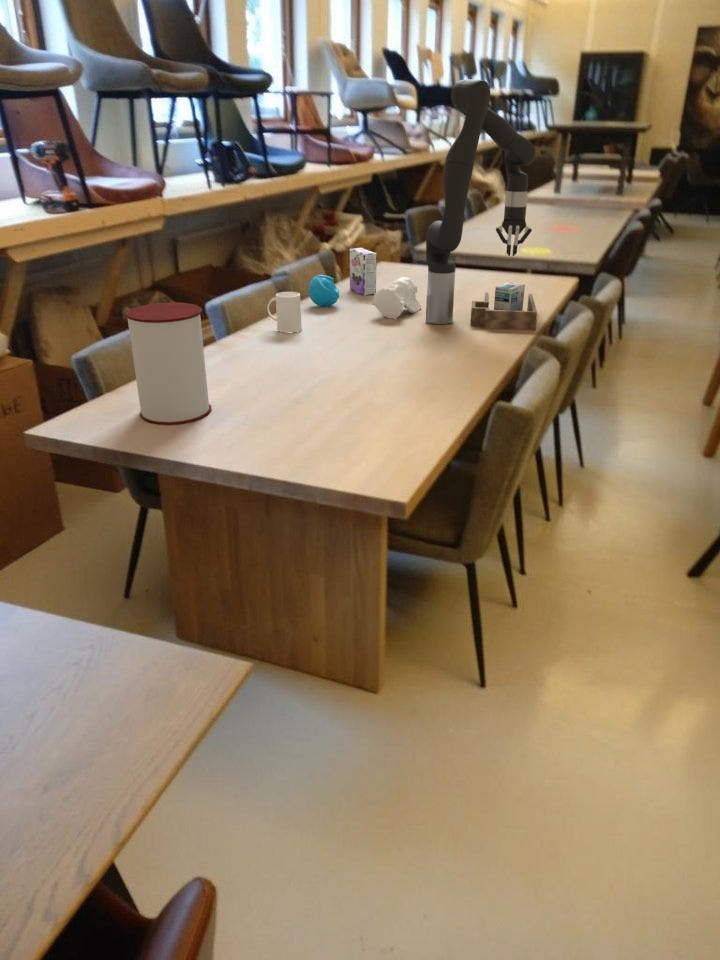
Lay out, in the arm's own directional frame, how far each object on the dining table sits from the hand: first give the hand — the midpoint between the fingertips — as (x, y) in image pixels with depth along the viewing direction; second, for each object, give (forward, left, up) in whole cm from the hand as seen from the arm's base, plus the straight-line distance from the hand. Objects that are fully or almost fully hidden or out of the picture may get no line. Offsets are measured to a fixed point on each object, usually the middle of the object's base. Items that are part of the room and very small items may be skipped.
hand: (511, 255), depth 270 cm
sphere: (-68, -7, -19) cm, 71 cm away
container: (-84, -119, -19) cm, 147 cm away
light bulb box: (0, -11, -19) cm, 22 cm away
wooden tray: (-2, -17, -19) cm, 25 cm away
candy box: (-57, +19, -19) cm, 63 cm away
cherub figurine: (-40, -12, -19) cm, 46 cm away
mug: (-75, -41, -19) cm, 88 cm away
